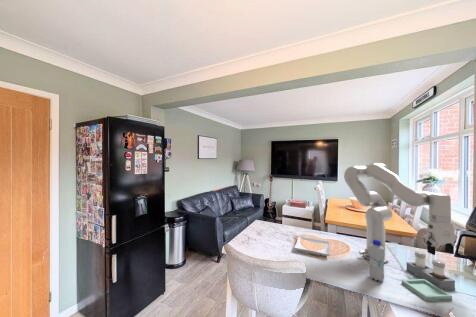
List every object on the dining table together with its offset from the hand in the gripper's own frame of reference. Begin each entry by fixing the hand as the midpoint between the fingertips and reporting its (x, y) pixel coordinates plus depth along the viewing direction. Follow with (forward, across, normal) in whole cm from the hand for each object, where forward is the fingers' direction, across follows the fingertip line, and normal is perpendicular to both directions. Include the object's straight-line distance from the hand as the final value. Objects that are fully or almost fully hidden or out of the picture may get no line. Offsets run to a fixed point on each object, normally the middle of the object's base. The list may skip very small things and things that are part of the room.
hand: (440, 253), depth 95 cm
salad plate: (+15, -46, +40) cm, 63 cm away
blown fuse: (+16, 0, +1) cm, 16 cm away
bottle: (+15, -28, +6) cm, 33 cm away
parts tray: (+16, -12, -4) cm, 20 cm away
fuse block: (+15, 0, +5) cm, 16 cm away
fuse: (+15, 0, +10) cm, 18 cm away
